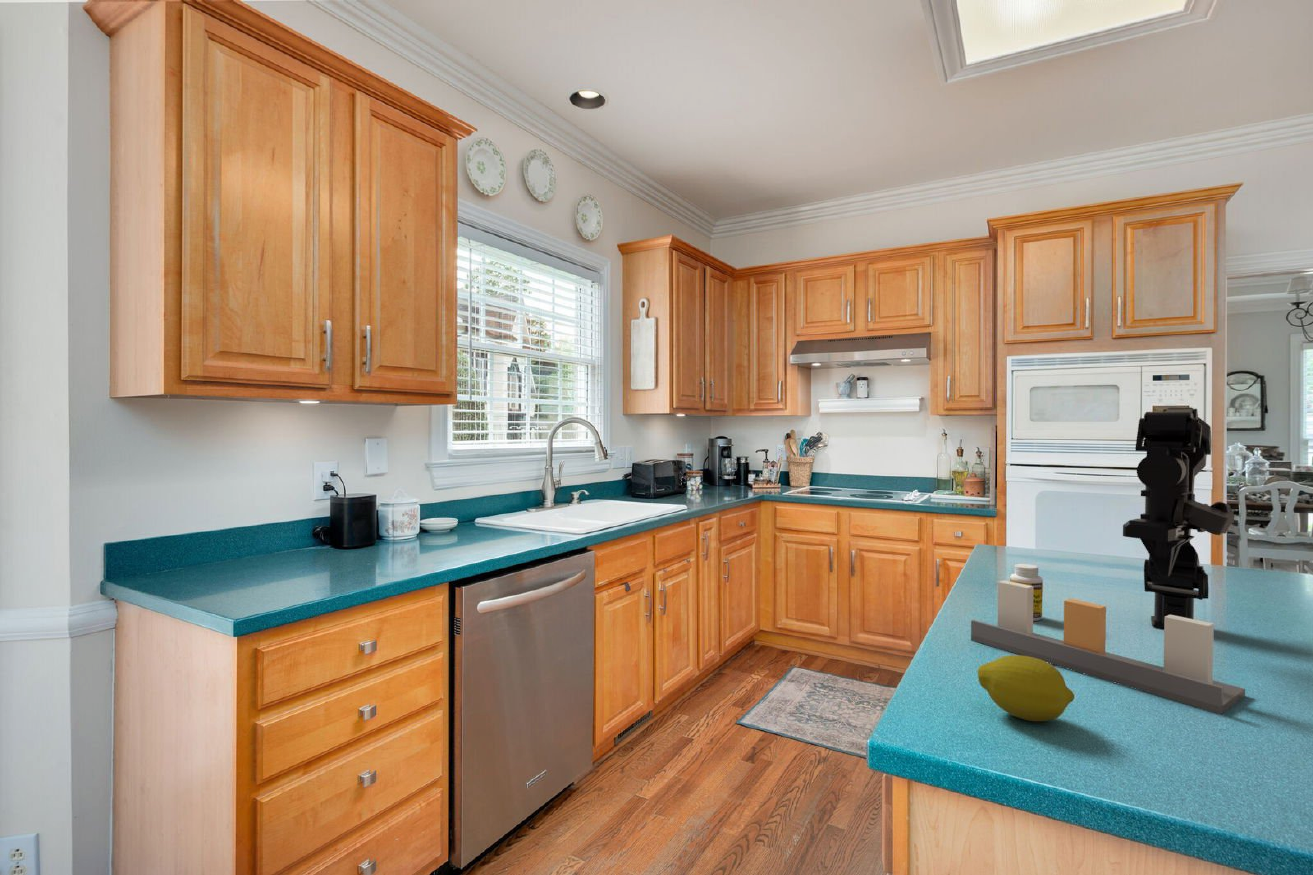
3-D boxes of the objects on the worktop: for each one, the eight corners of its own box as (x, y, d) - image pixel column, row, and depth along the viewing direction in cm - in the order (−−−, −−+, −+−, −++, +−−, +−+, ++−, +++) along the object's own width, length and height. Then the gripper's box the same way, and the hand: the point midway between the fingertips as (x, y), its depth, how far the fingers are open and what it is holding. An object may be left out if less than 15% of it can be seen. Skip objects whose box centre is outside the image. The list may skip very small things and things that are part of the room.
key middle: (1069, 654, 101) (1070, 598, 101) (1105, 664, 97) (1106, 606, 97) (1063, 657, 100) (1064, 600, 100) (1099, 667, 96) (1100, 608, 96)
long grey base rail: (1001, 629, 117) (1001, 610, 117) (1245, 695, 89) (1245, 671, 89) (971, 640, 112) (971, 620, 112) (1220, 714, 83) (1221, 688, 83)
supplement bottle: (1033, 623, 121) (1034, 570, 120) (1003, 616, 125) (1004, 564, 125) (1047, 618, 124) (1048, 566, 123) (1018, 611, 128) (1019, 561, 128)
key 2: (1168, 675, 93) (1169, 614, 93) (1212, 687, 89) (1213, 623, 89) (1163, 678, 92) (1164, 616, 92) (1207, 690, 88) (1208, 626, 87)
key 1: (1003, 630, 113) (1004, 580, 113) (1032, 638, 109) (1033, 586, 109) (997, 632, 112) (998, 581, 112) (1026, 640, 108) (1027, 588, 107)
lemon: (1077, 719, 82) (1078, 658, 82) (1068, 742, 76) (1069, 677, 76) (986, 695, 89) (986, 639, 89) (971, 715, 83) (971, 655, 83)
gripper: (1207, 493, 96) (1205, 595, 97) (1247, 485, 106) (1244, 578, 107) (1122, 486, 105) (1120, 580, 106) (1165, 480, 116) (1164, 565, 116)
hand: (1164, 576), depth 108 cm, fingers closed
